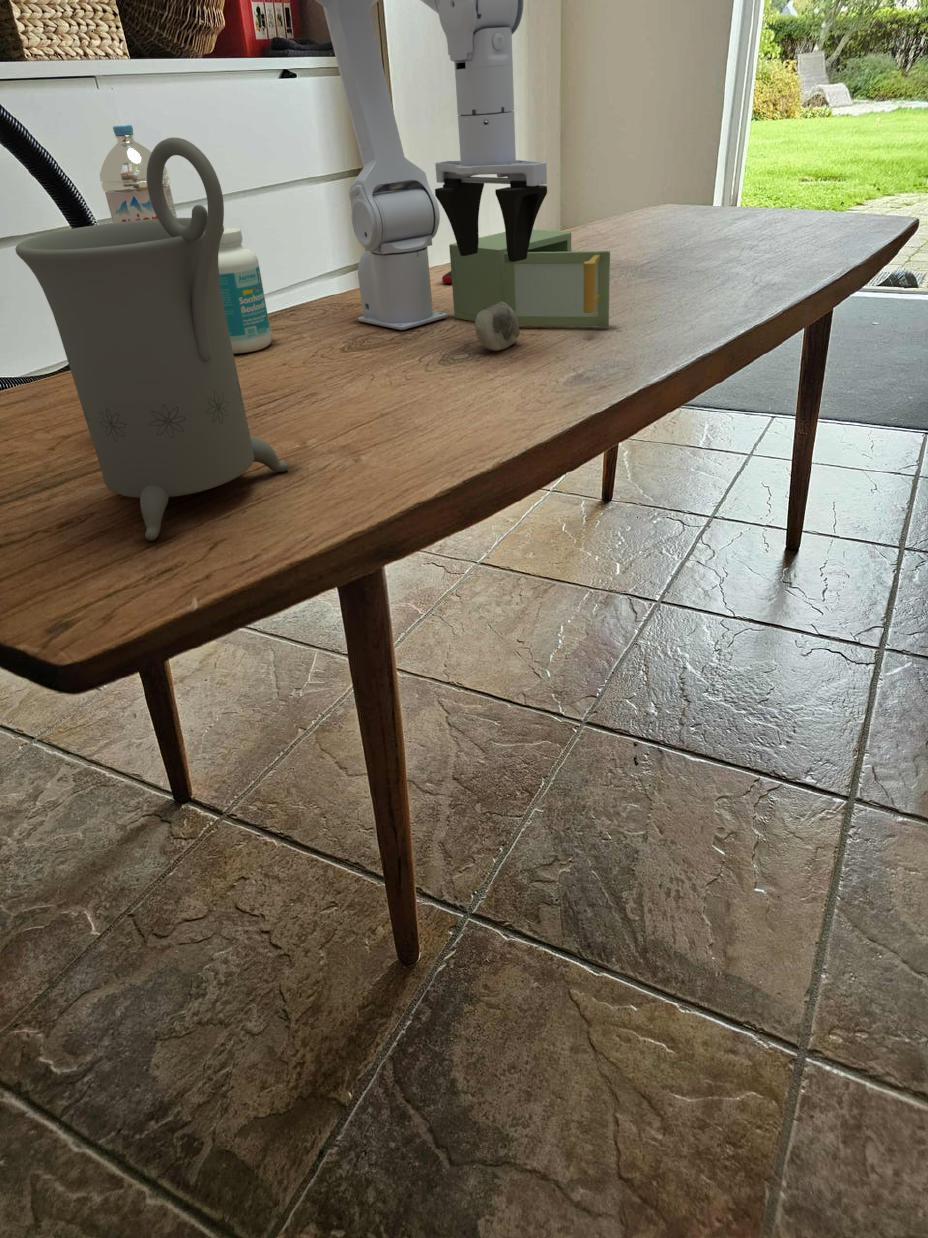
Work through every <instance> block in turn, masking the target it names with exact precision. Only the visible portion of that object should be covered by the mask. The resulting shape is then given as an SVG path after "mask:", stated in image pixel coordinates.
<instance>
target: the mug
mask: <svg viewBox="0 0 928 1238" xmlns="http://www.w3.org/2000/svg"><path fill="white" fill-rule="evenodd" d="M151 152H152V153H151V155H150V158H149V161H148V166H147V187H148V193H149V197H150V201H151V204H152V207H153V209H154V212H155V214H156V216H157V218H158V219H148V220H136V221H126V222H117V223H113V222H110V223H109V222H107V223H102V224H95V225H89V226H88V225H87V226H82V227H75V228H69V229H64V230H63V229H62V230H58V231H54V232H53V231H52V232H49V233H45V234H41V235H37V236H34V237H31V238H27V239H25V240H23V241H21V242H19V243H18V244H17V245H15V248H14V249H15V253H16V255H17V256H18V257H19V258H20V259H21V260H22V261H23V262H24V264H26V265H27V267H28V268H29V269H30V270H31V272H32V273H33V275H34V276H35V278H36V280H37V281H38V284H39V285H40V287H41V289H42V291H43V293H44V296H45V299H46V301H47V303H48V305H49V308H50V310H51V313H52V315H53V319H54V321H55V325H56V328H57V330H58V333H59V337H60V340H61V343H62V347H63V351H64V353H65V357H66V359H67V363H68V366H69V369H70V372H71V376H72V378H73V383H74V386H75V389H76V392H77V396H78V399H79V402H80V406H81V409H82V412H83V415H84V418H85V422H86V426H87V428H88V431H89V435H90V438H91V442H92V445H93V448H94V450H95V454H96V458H97V461H98V464H99V467H100V470H101V471H100V472H101V474H102V477H103V481H104V483H105V486H106V487H107V489H109V490H110V491H111V492H113V493H115V494H117V495H119V496H123V497H127V498H134V499H135V498H136V499H139V504H140V505H139V506H140V511H141V515H142V519H143V522H144V525H145V528H146V531H145V533H144V536H145V538H146V540H147V541H151V542H152V541H155V540H157V538H158V537H159V534H160V532H161V526H162V521H163V516H164V513H165V510H166V507H167V506H168V502H169V498H175V497H181V496H188V495H192V494H196V493H201V492H204V491H207V490H211V489H214V488H217V487H219V486H222V485H224V484H228V483H229V482H231V481H234V480H235V479H237V478H239V477H240V476H242V475H243V474H244V473H246V472H247V471H248V470H249V469H250V468H251V467H252V465H254V463H259V464H262V465H264V466H266V467H267V468H268V469H270V470H271V471H273V472H275V473H284V472H287V471H288V470H289V464H288V463H287V462H286V461H280V459H279V458H278V455H277V453H276V451H275V450H274V449H273V447H272V446H271V445H270V444H269V443H267V442H266V441H264V440H263V439H260V438H257V437H251V434H250V428H249V424H248V419H247V414H246V408H245V403H244V399H243V394H242V389H241V384H240V380H239V373H238V369H237V364H236V361H235V354H233V350H232V345H231V340H230V335H229V330H228V325H227V320H226V315H225V311H224V305H223V300H222V294H221V288H220V278H219V268H218V252H219V245H220V241H221V237H222V235H223V232H224V229H225V226H224V219H225V205H224V203H225V202H224V196H223V190H222V186H221V182H220V180H219V178H218V175H217V172H216V171H215V169H214V167H213V164H212V163H211V162H210V160H209V159H208V157H207V156H206V154H205V153H204V152H203V151H202V150H201V149H199V147H197V146H196V145H195V144H194V143H192V142H190V140H186V139H185V138H182V137H181V138H180V137H167V138H165V139H163V140H161V141H159V142H157V144H156V145H155V146H154V147H153V149H152V151H151ZM174 156H178V157H179V156H180V157H182V158H184V159H185V160H187V161H188V162H189V163H190V165H192V166H193V168H194V169H195V170H196V172H197V174H198V176H199V178H200V180H201V182H202V184H203V185H202V186H203V187H204V191H205V195H206V202H207V209H206V207H205V206H203V205H201V204H196V205H195V206H193V208H192V209H191V217H177V218H174V216H173V214H172V213H171V211H170V209H169V207H168V204H167V201H166V199H165V195H164V190H163V170H164V166H165V167H166V163H167V162H168V160H170V158H171V157H174Z"/></svg>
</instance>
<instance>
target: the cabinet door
mask: <svg viewBox="0 0 928 1238" xmlns="http://www.w3.org/2000/svg"><path fill="white" fill-rule="evenodd" d="M504 268H505V292H506V304H508V305H509V306H510V307H511V309H512V310H513V311H514V312H515V314H516V316H517V319H518V323H519V327H520V326H522V327H595V328H596V327H599V328H600V327H601V328H603V327H604V328H605V327H607V328H608V327H609V325H610V283H611V282H610V280H611V279H610V278H611V277H610V275H611V251H610V250H595V251H594V250H586V251H584V250H581V251H578V250H577V251H571V252H528V253H527V258H526V259H524V260H520V261H516V262H509V258H508V253H504Z"/></svg>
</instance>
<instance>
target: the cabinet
mask: <svg viewBox="0 0 928 1238" xmlns="http://www.w3.org/2000/svg"><path fill="white" fill-rule="evenodd" d="M448 247H449V260H450V261H449V262H450V271H451V275H452V283H451V286H452V287H451V288H452V301H453V302H452V303H453V312H454V318H455V319H458V320H464V321H469V322H474V323H475V320H476V317H477V314H478V313H479V312H480V311H481V310H483V309H484V308H485V307H488V306H490V305H492V304H495V303H497V302H499V301H502V302H505V303H506V292H505V268H504V253H507V245H506V232H505V231H503V232H499V233H494V234H490V235H486V236H481V237H479V243H478V252H477V253H476V254H472V255H467V256H461V255H460V252H459V249H458V245H457V242H455V243H450V244H449V245H448ZM528 252H572V232H569V231H557V230H546V229H534V228H533V230H532V234H531V238H530V243H529V248H528Z"/></svg>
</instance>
